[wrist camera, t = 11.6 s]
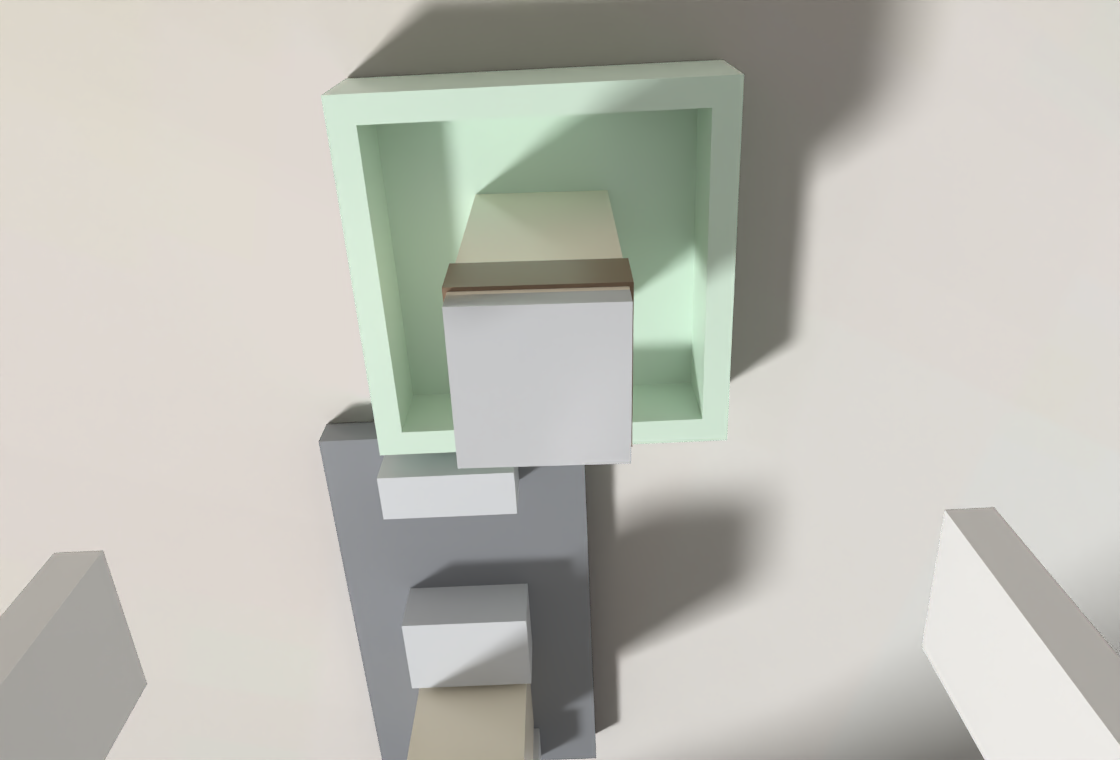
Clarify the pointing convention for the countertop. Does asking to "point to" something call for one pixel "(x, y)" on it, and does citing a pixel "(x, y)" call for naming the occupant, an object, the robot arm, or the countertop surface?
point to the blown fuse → (540, 333)
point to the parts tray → (543, 166)
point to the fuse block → (465, 583)
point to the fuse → (473, 723)
